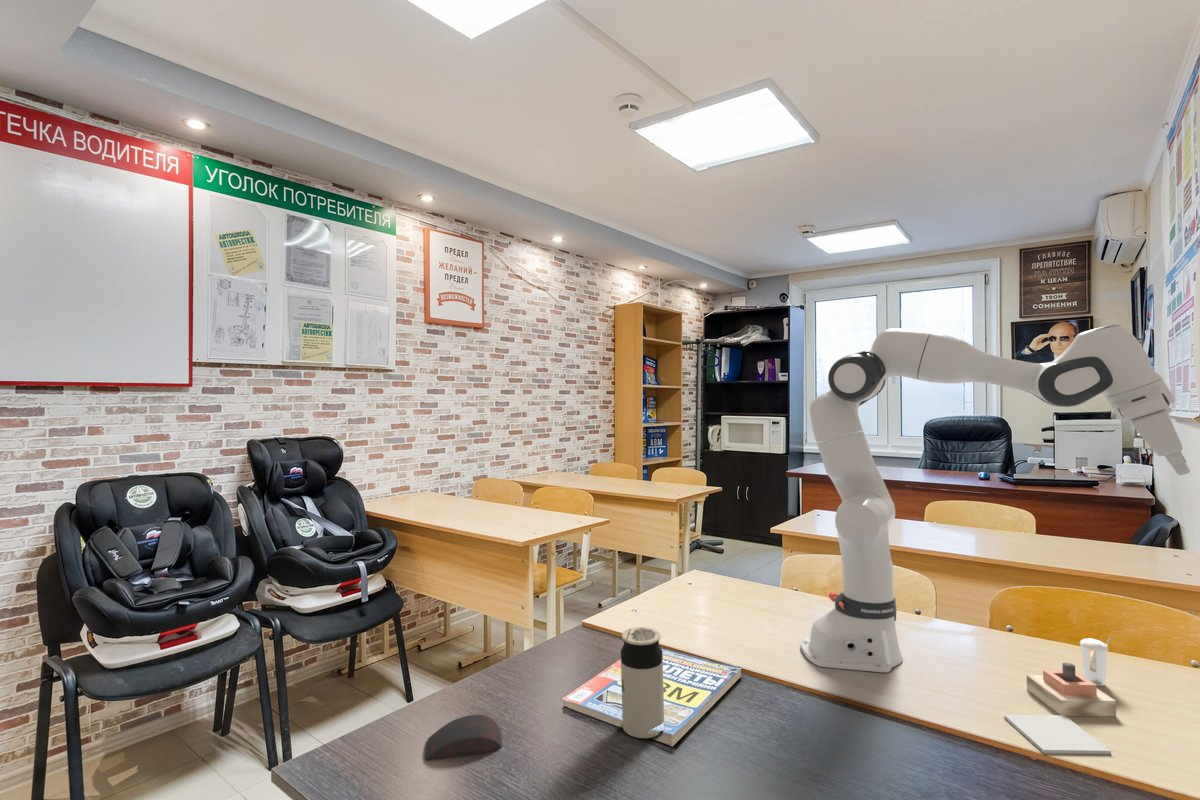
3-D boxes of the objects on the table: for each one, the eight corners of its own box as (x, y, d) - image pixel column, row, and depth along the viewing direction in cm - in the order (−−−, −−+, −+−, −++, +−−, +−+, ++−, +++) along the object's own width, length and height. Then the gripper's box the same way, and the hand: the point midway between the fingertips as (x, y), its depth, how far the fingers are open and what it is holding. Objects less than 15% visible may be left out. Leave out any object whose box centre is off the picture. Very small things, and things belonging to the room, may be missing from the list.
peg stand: (1061, 715, 112) (1060, 676, 112) (1026, 689, 122) (1026, 653, 122) (1116, 716, 112) (1115, 677, 112) (1077, 689, 122) (1076, 653, 122)
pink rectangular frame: (1064, 694, 114) (1064, 684, 114) (1043, 679, 120) (1043, 670, 120) (1096, 695, 114) (1096, 685, 114) (1074, 680, 120) (1073, 670, 120)
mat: (1043, 753, 101) (1043, 749, 101) (1004, 717, 112) (1004, 714, 112) (1110, 754, 100) (1110, 750, 100) (1064, 718, 111) (1064, 715, 111)
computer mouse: (502, 753, 106) (502, 731, 106) (424, 765, 103) (423, 743, 103) (500, 729, 114) (500, 708, 114) (428, 739, 111) (427, 718, 111)
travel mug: (668, 719, 115) (666, 628, 114) (659, 743, 107) (656, 645, 107) (629, 713, 117) (626, 624, 117) (617, 736, 110) (614, 640, 110)
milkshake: (1118, 689, 121) (1117, 641, 121) (1088, 687, 123) (1088, 639, 122) (1104, 678, 126) (1103, 632, 126) (1075, 676, 127) (1075, 631, 127)
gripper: (1122, 402, 122) (1159, 464, 119) (1120, 414, 107) (1163, 485, 104) (1160, 390, 118) (1200, 453, 115) (1164, 399, 103) (1210, 473, 100)
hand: (1182, 468), depth 110 cm, fingers open, 8 cm apart
